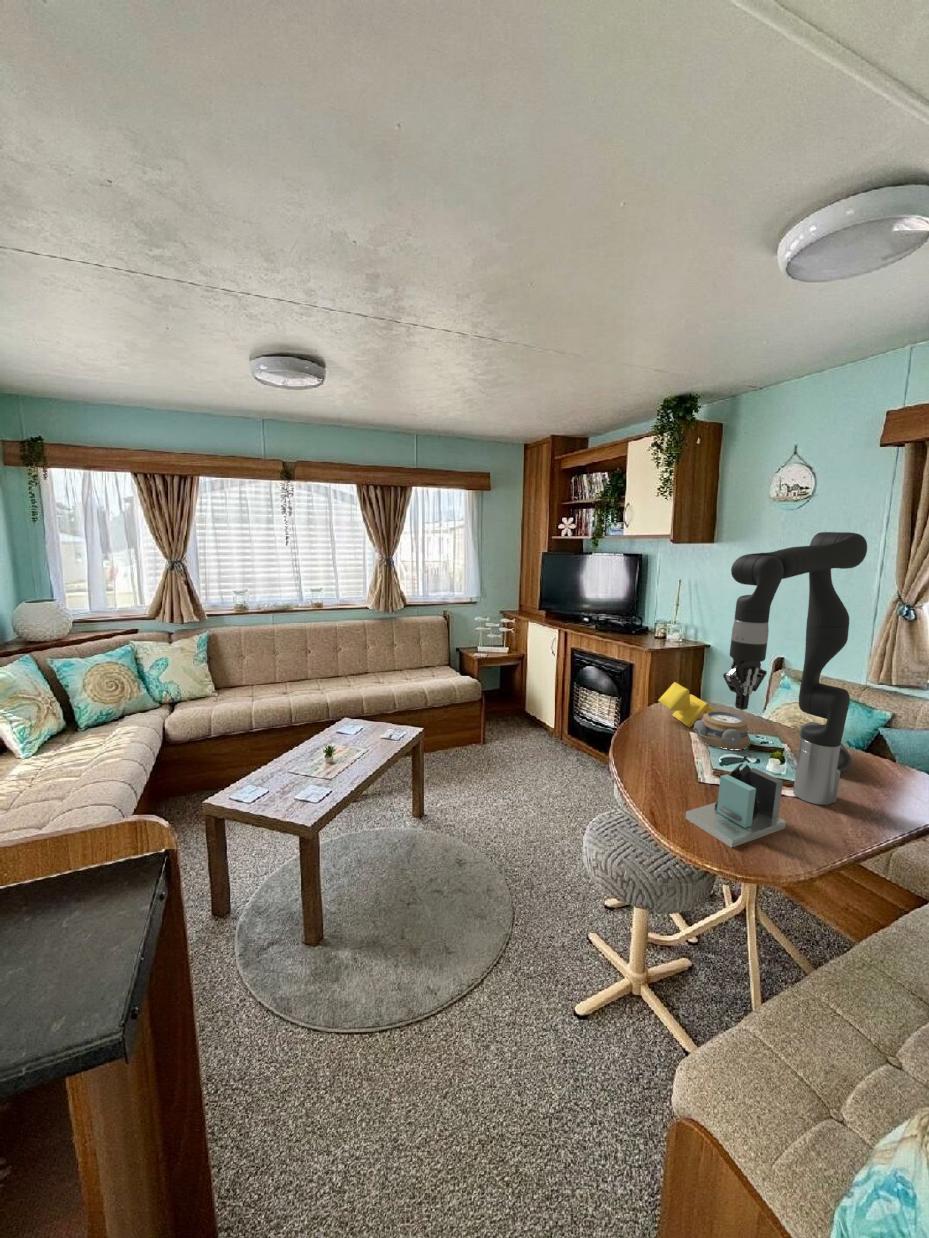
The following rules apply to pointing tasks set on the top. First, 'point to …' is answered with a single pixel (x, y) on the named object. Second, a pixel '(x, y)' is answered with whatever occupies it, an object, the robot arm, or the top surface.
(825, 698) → the robot arm
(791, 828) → the top surface
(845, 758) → the bluetooth speaker
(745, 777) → the phone stand
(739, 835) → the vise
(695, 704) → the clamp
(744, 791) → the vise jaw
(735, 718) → the alarm clock
